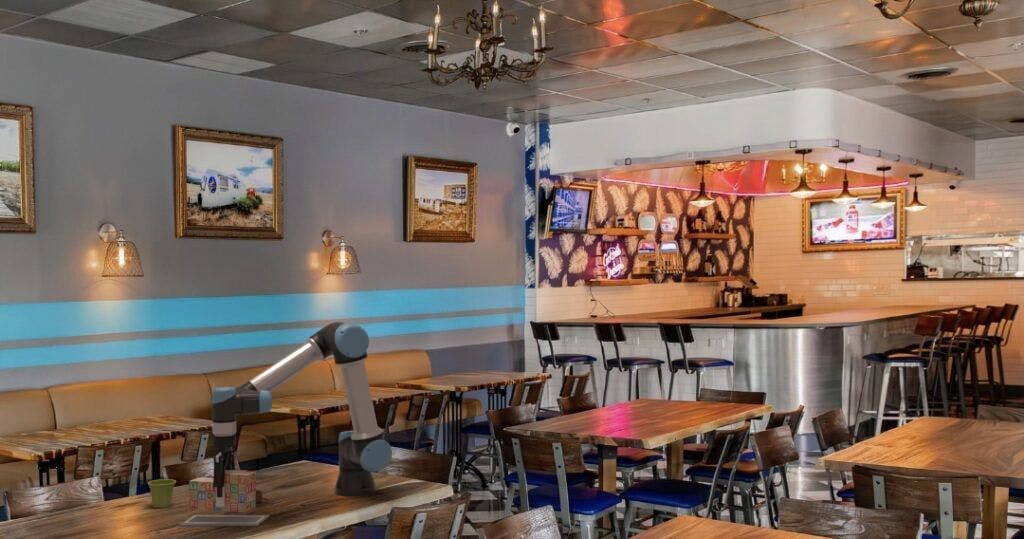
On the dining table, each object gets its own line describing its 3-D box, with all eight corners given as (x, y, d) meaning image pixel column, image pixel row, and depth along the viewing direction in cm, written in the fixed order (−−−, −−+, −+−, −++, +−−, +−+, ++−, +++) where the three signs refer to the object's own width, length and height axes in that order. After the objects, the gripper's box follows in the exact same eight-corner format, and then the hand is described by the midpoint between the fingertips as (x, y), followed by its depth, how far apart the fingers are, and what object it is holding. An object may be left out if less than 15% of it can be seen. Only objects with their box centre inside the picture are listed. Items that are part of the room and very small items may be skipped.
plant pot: (168, 501, 353) (168, 477, 353) (180, 506, 346) (180, 481, 346) (143, 506, 346) (143, 481, 346) (155, 510, 339) (155, 485, 339)
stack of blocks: (188, 508, 322) (188, 471, 322) (199, 504, 328) (199, 467, 328) (246, 512, 316) (246, 474, 316) (256, 508, 322) (256, 471, 322)
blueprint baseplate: (269, 518, 327) (269, 514, 327) (257, 528, 314) (257, 524, 314) (194, 517, 329) (194, 514, 329) (178, 527, 316) (178, 524, 316)
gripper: (223, 429, 332) (224, 496, 332) (201, 439, 312) (202, 511, 312) (245, 429, 331) (245, 497, 331) (224, 439, 312) (225, 511, 312)
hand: (224, 503), depth 322 cm, fingers closed on stack of blocks, 7 cm apart
